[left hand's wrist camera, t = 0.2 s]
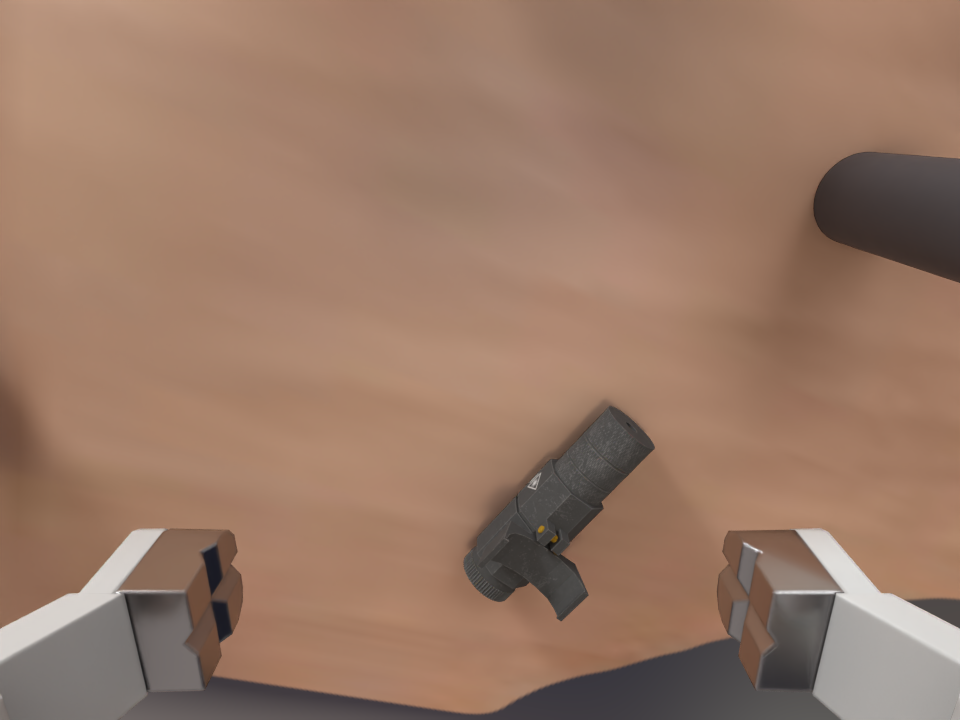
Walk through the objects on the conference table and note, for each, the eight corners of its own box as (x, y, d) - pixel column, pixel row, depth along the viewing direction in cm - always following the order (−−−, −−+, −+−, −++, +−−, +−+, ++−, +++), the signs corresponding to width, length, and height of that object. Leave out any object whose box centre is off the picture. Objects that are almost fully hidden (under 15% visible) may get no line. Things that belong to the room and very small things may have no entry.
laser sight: (660, 441, 63) (692, 496, 54) (515, 586, 69) (521, 659, 60) (586, 384, 61) (606, 431, 52) (443, 539, 67) (437, 607, 58)
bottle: (798, 188, 55) (1010, 232, 33) (882, 132, 54) (1164, 139, 32) (836, 261, 57) (1059, 347, 35) (919, 209, 56) (1206, 266, 34)
